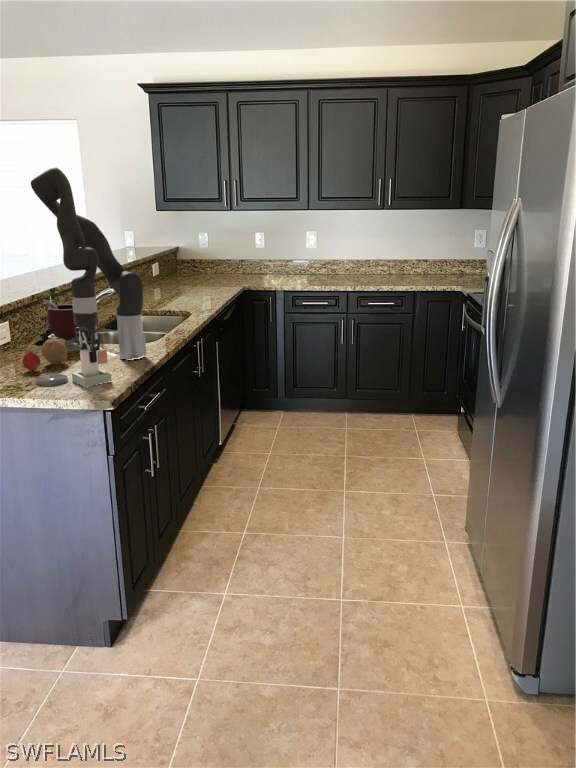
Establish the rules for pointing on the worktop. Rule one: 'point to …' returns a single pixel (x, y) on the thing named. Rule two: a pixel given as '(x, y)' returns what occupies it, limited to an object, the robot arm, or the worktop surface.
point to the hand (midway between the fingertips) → (89, 360)
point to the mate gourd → (63, 324)
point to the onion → (31, 360)
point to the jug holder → (91, 378)
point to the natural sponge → (54, 351)
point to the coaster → (51, 379)
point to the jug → (92, 368)
